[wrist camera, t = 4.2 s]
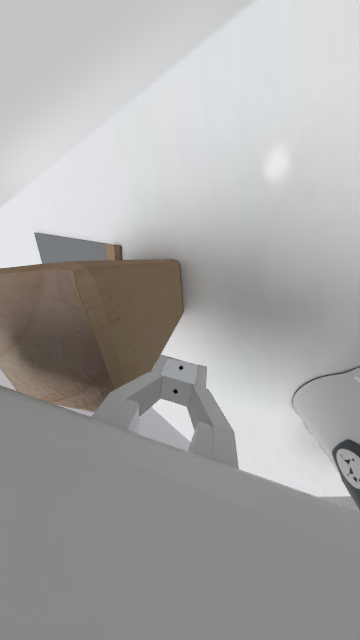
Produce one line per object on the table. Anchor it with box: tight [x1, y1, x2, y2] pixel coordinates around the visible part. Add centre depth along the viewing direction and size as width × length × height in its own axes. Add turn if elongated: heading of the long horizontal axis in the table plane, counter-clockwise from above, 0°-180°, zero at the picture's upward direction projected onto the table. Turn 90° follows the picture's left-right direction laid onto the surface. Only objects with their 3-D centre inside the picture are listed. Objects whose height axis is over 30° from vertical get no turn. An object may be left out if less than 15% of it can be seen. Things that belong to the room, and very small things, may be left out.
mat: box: [34, 233, 122, 264], centre depth 27 cm, size 18×13×2 cm
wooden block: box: [0, 259, 183, 412], centre depth 17 cm, size 10×10×20 cm
